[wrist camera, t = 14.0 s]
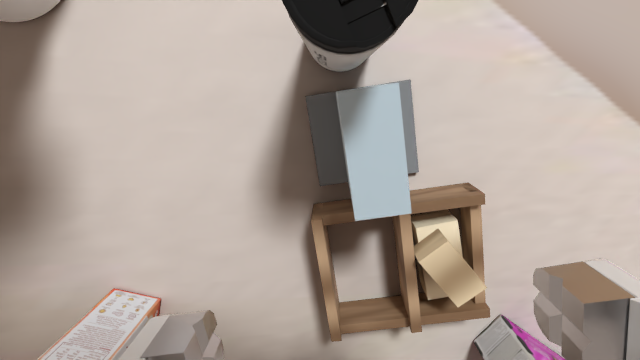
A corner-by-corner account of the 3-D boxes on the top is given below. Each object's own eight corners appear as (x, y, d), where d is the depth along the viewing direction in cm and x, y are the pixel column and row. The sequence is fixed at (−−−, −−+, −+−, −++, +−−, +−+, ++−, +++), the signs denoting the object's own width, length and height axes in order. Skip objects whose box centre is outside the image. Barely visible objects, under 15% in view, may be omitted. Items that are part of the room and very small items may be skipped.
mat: (305, 96, 34) (305, 96, 34) (409, 79, 34) (410, 79, 33) (320, 184, 37) (320, 186, 36) (417, 170, 36) (418, 172, 35)
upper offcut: (411, 247, 35) (418, 262, 32) (437, 228, 34) (447, 240, 31) (447, 290, 36) (457, 307, 33) (474, 271, 35) (487, 287, 32)
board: (335, 91, 34) (337, 92, 23) (377, 84, 33) (398, 82, 23) (348, 181, 36) (355, 220, 25) (387, 176, 36) (411, 213, 25)
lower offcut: (408, 215, 37) (415, 228, 34) (446, 208, 37) (457, 220, 34) (419, 281, 39) (428, 300, 36) (455, 275, 39) (467, 293, 36)
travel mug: (356, -16, 32) (394, -180, 12) (384, 54, 33) (456, 5, 14) (294, 15, 33) (238, -93, 13) (323, 82, 34) (312, 74, 15)
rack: (313, 204, 37) (310, 221, 32) (468, 182, 36) (489, 197, 31) (331, 311, 40) (331, 341, 35) (474, 294, 39) (494, 323, 34)
